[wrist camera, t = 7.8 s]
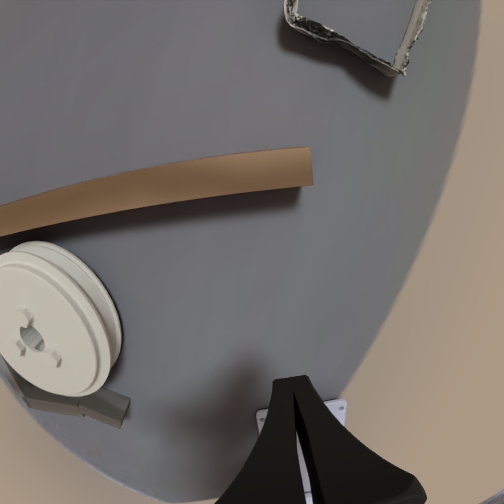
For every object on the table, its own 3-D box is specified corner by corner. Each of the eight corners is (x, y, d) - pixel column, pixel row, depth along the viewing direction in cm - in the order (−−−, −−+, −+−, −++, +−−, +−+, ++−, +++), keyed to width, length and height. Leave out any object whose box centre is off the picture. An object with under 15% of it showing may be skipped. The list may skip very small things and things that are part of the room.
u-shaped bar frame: (312, 396, 25) (318, 421, 22) (41, 396, 25) (29, 414, 22) (300, 147, 18) (309, 147, 15) (-31, 217, 19) (-53, 226, 16)
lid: (132, 383, 24) (116, 424, 19) (21, 354, 24) (-3, 383, 19) (120, 244, 20) (88, 272, 15) (-5, 231, 19) (-43, 250, 15)
